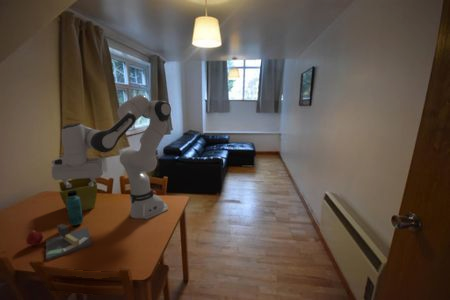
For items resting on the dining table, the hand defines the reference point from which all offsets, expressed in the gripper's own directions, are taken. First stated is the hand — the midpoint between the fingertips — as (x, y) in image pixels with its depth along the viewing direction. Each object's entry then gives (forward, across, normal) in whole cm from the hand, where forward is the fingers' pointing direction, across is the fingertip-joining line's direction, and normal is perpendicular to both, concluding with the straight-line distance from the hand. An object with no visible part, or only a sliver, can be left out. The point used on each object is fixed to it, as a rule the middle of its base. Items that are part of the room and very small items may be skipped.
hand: (80, 186), depth 101 cm
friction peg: (+26, +6, +3) cm, 27 cm away
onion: (+28, +22, +1) cm, 35 cm away
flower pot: (+28, +16, -36) cm, 48 cm away
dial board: (+28, +7, +3) cm, 29 cm away
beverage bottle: (+28, +10, -14) cm, 33 cm away
